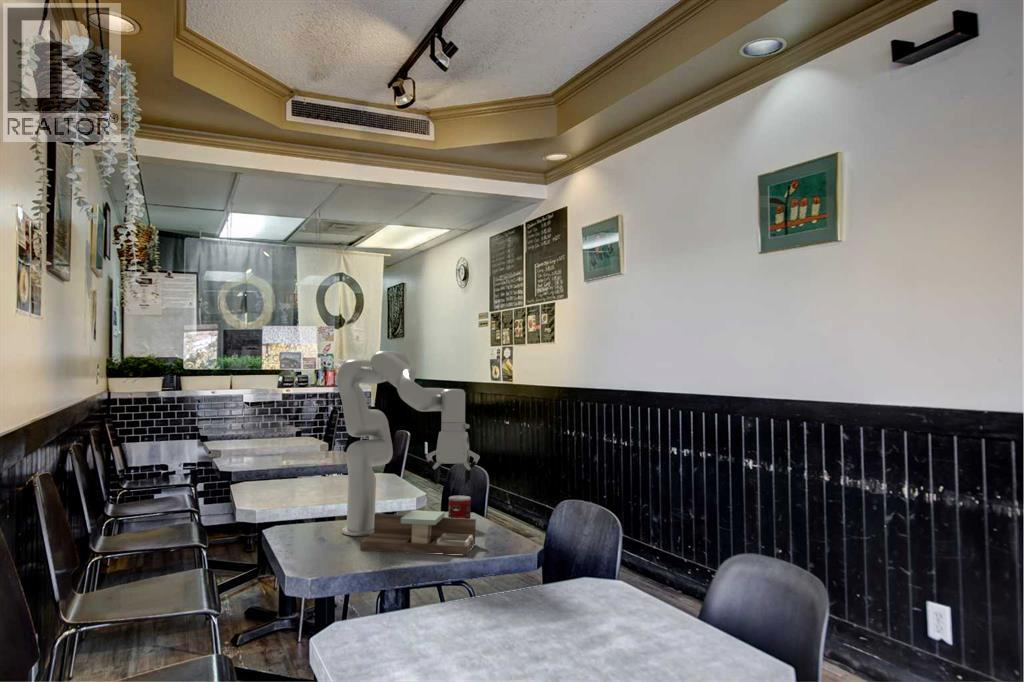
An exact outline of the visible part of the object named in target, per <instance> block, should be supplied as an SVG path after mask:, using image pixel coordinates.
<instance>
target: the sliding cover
mask: <svg viewBox="0 0 1024 682" xmlns="http://www.w3.org/2000/svg"><path fill="white" fill-rule="evenodd" d="M404 515H405V516H403V517H402V518H401V523H404V524H423V525H436V524H437V523H438V522H439V521H440V520H441V519H442V518H443V517H446V516H445V515H446V514H445V511H435V510H434V511H433V510H419V509H417V510H416V509H412V510H411V511H409V512H408V513H406V514H404Z"/></svg>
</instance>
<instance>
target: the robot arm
mask: <svg viewBox="0 0 1024 682" xmlns="http://www.w3.org/2000/svg"><path fill="white" fill-rule="evenodd" d="M410 363H411V362H410V359H409V357H408V356H407V355H406V353H403V352H401V351H397V350H396V351H395V350H380V351H377V352H375V353H374V354H373V355H372V356H371V359H349V360H346V361H345V362H343V363H342V364H341V365H340V367H339V369H338V371H337V373H336V386H337V390H338V393H339V397H340V398H341V403H342V410H343V417H344V424H345V429H346V432H347V434H348V435H349V436H351V437H355V438H362V437H363V438H365V437H368V439H363V440H357V441H354V442H353V443H350V444H349V446H348V447H347V449H346V453H345V459H346V464H347V476H348V477H347V507H346V509H347V510H346V526H344V527H342V528H341V533H342V534H344V535H346V536H352V537H353V536H354V537H362V536H363V537H365V536H369V535H371V534H372V533H374V518H375V514H376V497H377V495H376V494H377V489H376V488H377V478H376V474H375V473H374V472H375V471H374V469H373V467H378V466H384V465H386V464H389V463H390V461H391V460H392V459H393V454H394V451H393V442H392V437H391V432H390V426H389V425H390V424H389V420H388V418H387V415H385V413H384V412H383V411H381V410H379V409H370V408H369V407H368V402H367V401H368V399H367V397H366V394H365V392H364V391H363V389H362V387H361V386H360V384H375V385H377V384H381V383H385V382H388V383H390V385H392V386H393V387H395V388H396V391H397V393H398V396H399V397H400V399H401V400H402V401H403V402H404V403H406V404H407V405H408V406H410V407H411V408H413V409H414V410H416V411H419V412H441V418H440V419H441V422H440V423H441V425H440V426H441V427H440V428H441V429H440V430H441V431H439V432H438V436H437V443H436V449H435V450H433V451H431V452H429V453H428V454H426V455H425V458H426V460H427V461H428V464H429V465H430V467H432V469H433V480H435V481H434V482H435V483H439V482H440V481H441V468H440V466H441V465H442V464H447V465H448V464H449V465H454V464H455V465H458V464H459V465H463V466H464V467H465V469H466V470H465V471H464V472H465V473H464V475H465V476H464V483H466V484H468V483H470V481H471V480H472V469H473V468H474V467H475V466H477V463H478V461H479V460H480V458H481V457H480V455H479V454H478V453H475V452H473V451H472V450H470V438H469V434H468V432H467V431H466V430H467V429H470V424H469V423H466V392H465V390H464V389H461V388H443V387H423V386H421V385H419V383H417V382H415V380H416V376H417V373H416V370H415V369H414V368H413V367H412V366H411V365H410ZM433 456H435V459H436V462H435V461H434V460H433ZM470 457H472V458H473V461H472V462H470Z"/></svg>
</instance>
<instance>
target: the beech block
mask: <svg viewBox="0 0 1024 682" xmlns="http://www.w3.org/2000/svg"><path fill="white" fill-rule="evenodd" d="M412 543H421V544H431V525H423V524H412Z"/></svg>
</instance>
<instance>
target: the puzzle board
mask: <svg viewBox="0 0 1024 682" xmlns="http://www.w3.org/2000/svg"><path fill="white" fill-rule="evenodd" d="M405 515H406V514H388V513H387V514H385V513H375V518H374V533H372V534H371V535H367V536H366V537H365V538H363V539H362V540H360V543H359V544H360V545H359V550H360V549H361V550H360V551H372V550H381V551H380V552H389V551H397V552H396V553H406V552H411V553H410V554H422V553H443V554H463V555H467V554H468V552H469V551H470V549H471V548H472V546H473V545H474V544H475V545H476V530H477V529H476V526H477V522H476V521H477V519H476V518H470V519H466V518H448V517H447V516H444V517H443V518H442V519H441V520H440V521H439V522H438V523H437V524H436V525H431V544H421V543H412V524H404V523H401V518H402V517H403V516H405ZM472 549H473V548H472ZM470 552H471V551H470ZM470 552H469V553H470ZM468 555H469V554H468ZM468 555H467V556H468Z"/></svg>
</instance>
